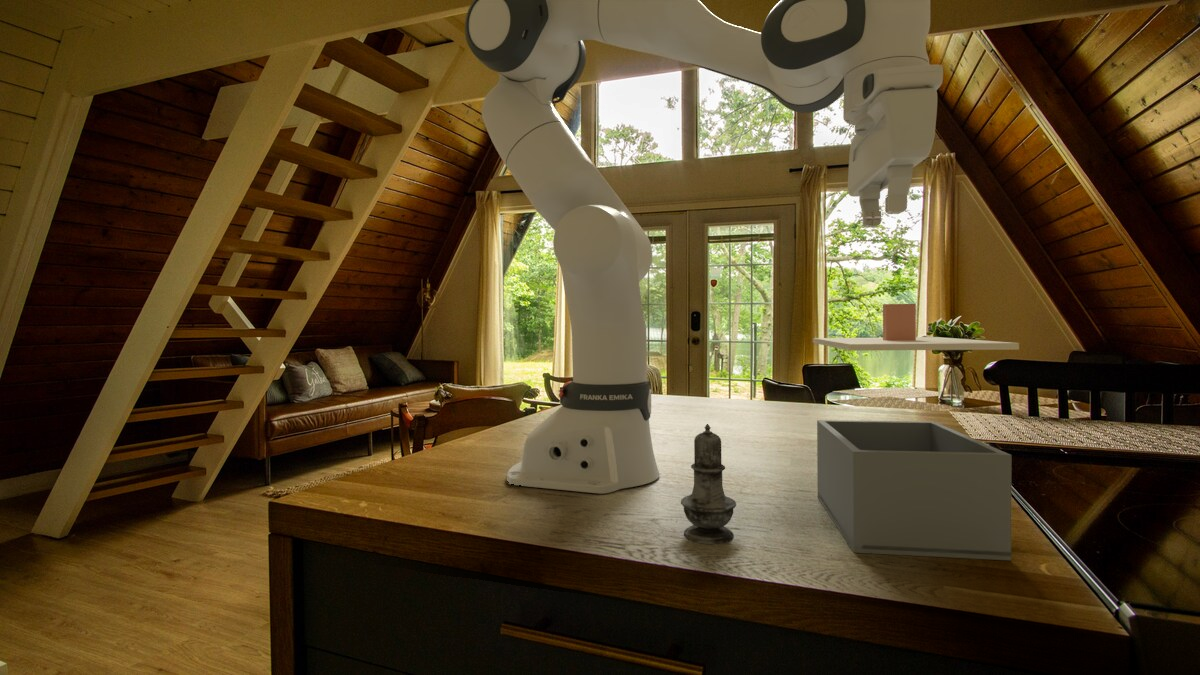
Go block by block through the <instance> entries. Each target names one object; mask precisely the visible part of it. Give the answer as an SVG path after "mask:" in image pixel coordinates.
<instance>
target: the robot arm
mask: <svg viewBox="0 0 1200 675" xmlns="http://www.w3.org/2000/svg"><path fill="white" fill-rule="evenodd" d="M464 20H465V21H464V34H465V40H466V43H467V46H468V47H469V49H470V51H471V53H472V54H473V55H474V56H475V58H477V60H478V61H480V63H482V64H483V65H484V66H485V67H487V68H488V69H489V70H491V71H493V72H496V73H499V74H498V76H499V77H498V81H497V83H496V85H495V86H493V87H492V88H491V89H490V90H489V91H488V93H487V94H486V96H485V97H484V100H483V101H482V106H481V117H482V122H483V124H484V126H485V128H486V132H487V133H488V136H489V137H490V139H491V142H492V144H493V146H494V148H495V150H496V151H497V153H498V155H499V157H500V158H501V160H502V161H503V163H504V165H505V167H506V168H507V169H508V171H509V172H510V174H511V175H512V177H513V178H514V180H515V181H516V183H517V185H518V186H519V187H520V189H521V190H522V192H523V194H525V197H526V198H527V199H528V201H529V203H530V204H531V205H532V206H533V208H534V210H535V211H536V212H537V213H538V214H539V216H541V217H542V219H543V220H545V221H546V223H547V224H548V225H549V226H550V227H551V228H552V229H553V230H554V234H553V241H552V242H553V246H552V247H553V252H554V255H555V258H556V260H557V262H558V264H559V267H560V270H561V275H562V276H561V277H562V281H563V282H562V283H563V288H564V294H565V299H566V304H567V309H568V315H569V322H570V329H571V352H572V354H571V357H572V380H570V381H567V382H564V384H563V385H562V386H561V387H560V389H559V390H558V392H559V394H558V398H559V403H560V405H561V406H560V408H558V409H556V411H555V412H553V413H552V414H550V415H549V416H548V417H546V418H545V420H543V421H542V422H541V423H539V424H538V425H537V426H536V427H535V428H534V429H533V430H532V431H531V432H530V433H529V434H528V435H527V437H526V439H525V441H524V445H523V451H522V456H521V461H519V462H517V463H515V464H514V465H512V466H511V467H510V468H509V470H508V471H507V473H506V482H507V481H508V482H509V483H508V482H507V483H508V485H511V484H514V485H513V486H519V485H521V487H529V488H540V489H541V488H542V489H550V490H561V491H571V492H580V493H592V494H610V493H613V492H615V491H618V490H619V491H620V490H622V489H627V488H633V487H638V486H643V485H646V484H650V483H652V482H654V481H656V480H657V479H659V478H660V472H659V469H658V468H659V467H658V465H657V462H656V458H655V452H654V448H653V442H652V435H651V427H650V426H651V424H650V418H651V415H652V389H651V382H650V380H648V361H647V360H648V354H647V353H648V348H647V340H648V339H647V338H648V337H647V336H648V335H647V325H646V321H645V316H644V311H643V304H642V295H641V288H640V282H641V281H642V280H643V279H644V278H645V277H646V275H647V274H648V273H649V271H650V269H651V266H652V261H653V246H652V243H651V241H650V238H649V237H648V235H647V233H646V232H645V231H644V229H643V228H642V227H641V225H640V224H639V222H638V221H637V220H636V218H635V217H634V215H633V214H632V212H630V210H629V209H628V208H627V206H626V204H624V202H623V201H622V199H621V198H620V197H619V195H618V194H617V193H616V191H615V190H614V189H613V187H612V186H611V185H610V183H608V181H607V180H606V178H605V177H604V176H603V175H602V173H601V172H600V171H599V169H598V168H597V166H596V165H595V164H594V162H592V160H591V158H590V156H588V154H587V152H586V151H585V150H584V148H583V147H582V145H581V143H580V142H579V141H578V140H577V138H576V136H575V135H574V134H573V133H572V131H571V129H570V128H569V127H568V125H567V124H566V122H565V121H564V120H563V118H562V117H561V116H560V114H559V112H558V111H557V109H556V108H555V106H554V105H555V104H558V103H560V102H562V101H563V100H564V99H565V97H566V95H567V93H568V91H570V90H571V89H572V88H573V87H574V86H575V85H576V84H577V82H578V81H579V79H580V77H581V76H582V74H583V72H584V69H585V66H586V64H587V63H586V61H587V51H586V46H585V44H584V41H585V40H587V41H588V40H589V41H593V40H594V41H597V42H600V43H602V44H606V45H610V46H614V47H617V48H622V49H625V50H631V51H636V52H640V53H645V54H650V55H653V56H659V57H663V58H666V59H669V60H674V61H678V62H682V63H686V64H691V65H693V66H696V67H699V68H702V69H704V70H708V71H711V72H713V73H717V74H720V75H723V76H726V77H728V78H731V79H735V80H738V81H741V82H744V83H746V84H747V83H748V84H750V85H753V86H757V87H759V88H761V89H763V90H764V91H766V92H768V93H769V94H770V95H771V96H773V97H774V98H775V99H776V100H777V101H778V102H779V103H780V104H781V105H782V106H784V107H786V109H789V110H791V111H793V112H797V113H801V114H803V113H804V114H807V113H808V114H809V113H816V112H818V111H821V110H823V109H825V108H828V107H829V106H831V105H832V104H834V103H835V102H836V101H837V100H838V99H840V98H841V97H842V95H843V113H842V114H843V117H842V118H843V120H844V122H845V123H847V124H849V125H852V126H854V133H855V134H854V135H853V137H852V140H851V142H850V146H849V147H850V148H849V157H848V172H847V173H848V174H847V191H848V194H849V196H850V197H858V198H859V205H860V209H861V213H862V226H863V227H864V228H876V227H877V226H880V225H881V222H882V210H880V199H881V192H882V191H883V190H885V189H886V188H887V197H885V200H884V201H885V202H884V203H885V207H884V208H885V209H884V212H885V213H886V214H887V215H899V214H902V213H904V212H905V211H906V210H907V209H908V195H909V192H910V191H909V190H910V187H911V184H912V180H913V176H914V174H913V170H914V168H915V167H916V166H918V165H919V164H920V163H922V162H923V161H924V160H926V159H927V158H928V157H929V156H930V154H931V151H932V148H933V145H934V140H935V135H936V126H937V124H936V123H937V116H938V115H937V114H938V92H937V91H938V89H940V87H941V86H942V84H943V81H944V79H943V78H944V69H943V68H944V67H943V64H930V59H929V55H928V52H927V47H926V46H927V39H928V36H929V32H930V28H931V0H780V1H778V3H776V4H775V5H774V6H773V8H772V9H771V10H770V12H769V13H768V14H767V16H766V18H765V20H764V22H763V25H762V28H761V32H758V31H754V30H752V29H748V28H744V27H742V26H737V25H735V24H732V23H729V22H726V21H724V20H723V19H721V18H719V17H718V16H717V15H715V14H714V13H712V12H711V11H710V10H709V9H708V8H707V7H706V6H705V5H704V4H703V3H702V2H701V1H700V0H473V1H472V2H471V4H470V5H469V7H468V10H467V11H466V16H465V19H464ZM555 99H556V100H555Z"/></svg>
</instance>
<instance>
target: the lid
mask: <svg viewBox="0 0 1200 675" xmlns="http://www.w3.org/2000/svg"><path fill="white" fill-rule="evenodd" d="M916 306H917V304H916V303H883V304H882V337H813V338H812V343H813V344H816V345H817V344H818V345H821V346H827V347H830V348H835V349H836V348H837V349H840V350H844V351H845V350H846V351H850V352H851V351H857V352H858V351H982V350H983V351H987V350H988V351H990V350H991V351H992V350H993V351H995V350H996V351H997V350H998V351H999V350H1000V351H1001V350H1004V351H1007V350H1008V351H1009V350H1012V351H1013V350H1020V343H1019V342H1012V341H1011V342H1010V341H1007V342H1006V341H999V340H998V341H995V340H994V341H993V340H983V339H982V340H981V339H972V338H971V339H970V338H956V337H955V338H954V337H943V336H942V337H940V336H931V337H930V336H917V334H916V332H917V326H916V324H917V322H916V321H917V319H916V318H917V312H916V311H917V307H916Z"/></svg>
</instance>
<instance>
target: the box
mask: <svg viewBox="0 0 1200 675" xmlns="http://www.w3.org/2000/svg"><path fill="white" fill-rule="evenodd" d="M816 426H817V428H816V430H817V431H816V432H817V433H816V436H817V437H816V438H817V439H816V448H817V450H816V451H817V454H816V456H817V461H816V462H817V464H816V467H817V468H816V469H817V473H816V474H817V478H816V479H817V499H818V501H819V502H820V503H821V505H822V507H823V508H824V510H825V511H826V513H827V514H828V516H829V517H830V518H831V520H832V521H833V522H832V523H833V524H834V525H835V526H836V528H837V529H838V531H839V533H840V534H841V535H842V537H843V538H844V540H845V542H846V543H847V545H848V546H849V548H850V549H851V551H852V552H853V554H855V553H856V554H857V553H858V554H859V553H860V554H873V555H874V554H877V555H897V556H898V555H899V556H914V557H917V556H918V557H932V558H933V557H934V558H935V557H936V558H938V557H939V558H954V559H955V558H956V559H958V558H959V559H972V560H973V559H974V560H995V561H1012V466H1013V465H1012V462H1013V460H1012V454H1011V453H1008V452H1006V451H1002V450H1001V449H999V448H996V447H995V446H991V445H989V444H988V443H985V442H982V441H980V440H978V439H976V438H973V437H972V436H968V435H967V434H964V433H962V432H959V431H958V430H955V429H952V428H950V427H949V426H947V425H946V426H945V425H943V424H941V423H940V422H937V421H904V420H903V421H902V420H899V421H898V420H897V421H896V420H838V419H837V420H836V419H834V420H831V419H829V420H828V419H827V420H826V419H825V420H824V419H817V422H816Z"/></svg>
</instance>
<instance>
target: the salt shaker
mask: <svg viewBox="0 0 1200 675" xmlns="http://www.w3.org/2000/svg"><path fill="white" fill-rule="evenodd" d="M704 429H705V430H704V431H702V432H699V433H698V434H697V435H695V437H694V445H693V446H694V448H693V449H694V458H693V459H694V463H693V464H691V465H690V468H691V469H692V470H693V488H692V492H691V494H689V495H686V496H684V497H682V498H681V500H680V504H681V505H682V507H683V513H684V514H685V517H686V518H687V520H688V521H689V522H690V523H691V525H690V526H689V527H687V528H686V529H685V530H684V532H683V536H684V538H686V539H687V540H690V541H692V542H695V543H698V544H704V545H719V544H720V545H721V544H726V543H728V542H730V541H732V540H733V539H734V538H735V534H734V533H733V531H732V530H731V529H729V528H728V527H726V525H727V524H728V523H729V522H730V521H731V519H732V516H733V515H734V509H736V506H737V502H736V501H735V499H734V498H732V497H730V496H727V495H726V494H725V492H724V487H723V471H724V470H725V469H726V466H725V465H724V464H722V439H721V437H720V436H719V435H717V434H716V433H714V432H713V431H711V426H710V425H709V424H708V423H707V424H706V425H705V426H704Z"/></svg>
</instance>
